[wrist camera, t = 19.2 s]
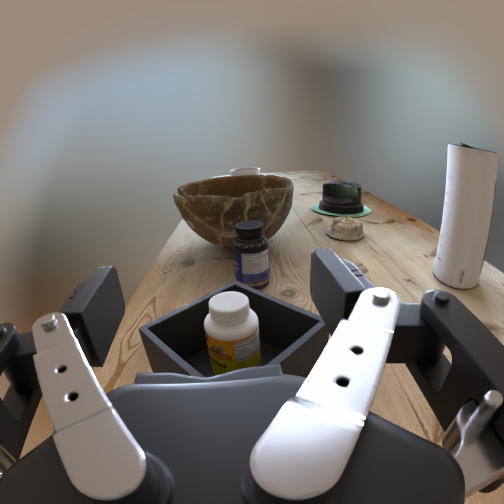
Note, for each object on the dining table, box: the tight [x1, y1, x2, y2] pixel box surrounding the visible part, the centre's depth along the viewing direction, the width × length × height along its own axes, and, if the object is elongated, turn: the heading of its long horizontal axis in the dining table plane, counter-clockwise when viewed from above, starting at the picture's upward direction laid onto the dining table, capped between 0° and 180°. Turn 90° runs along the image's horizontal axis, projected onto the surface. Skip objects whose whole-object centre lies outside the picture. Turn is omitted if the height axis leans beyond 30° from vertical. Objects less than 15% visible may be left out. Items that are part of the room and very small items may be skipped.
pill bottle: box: [233, 221, 269, 289], centre depth 53 cm, size 6×6×11 cm
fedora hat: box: [312, 181, 371, 217], centre depth 98 cm, size 15×19×20 cm
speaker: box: [433, 143, 498, 289], centre depth 45 cm, size 11×10×26 cm
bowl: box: [173, 175, 294, 247], centre depth 71 cm, size 28×27×15 cm
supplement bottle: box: [204, 291, 261, 376], centre depth 31 cm, size 6×6×10 cm
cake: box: [326, 215, 364, 241], centre depth 75 cm, size 10×10×5 cm
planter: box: [230, 167, 260, 176], centre depth 125 cm, size 12×12×11 cm
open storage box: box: [139, 281, 329, 378], centre depth 32 cm, size 15×15×8 cm
